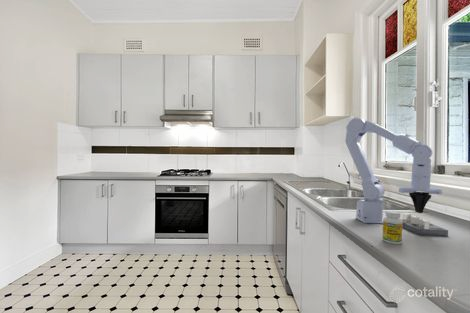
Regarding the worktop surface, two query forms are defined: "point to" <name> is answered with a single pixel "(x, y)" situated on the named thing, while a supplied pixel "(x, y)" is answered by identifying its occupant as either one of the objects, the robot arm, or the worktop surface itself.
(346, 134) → the robot arm
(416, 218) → the white slider knob
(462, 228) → the worktop surface
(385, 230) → the supplement bottle
